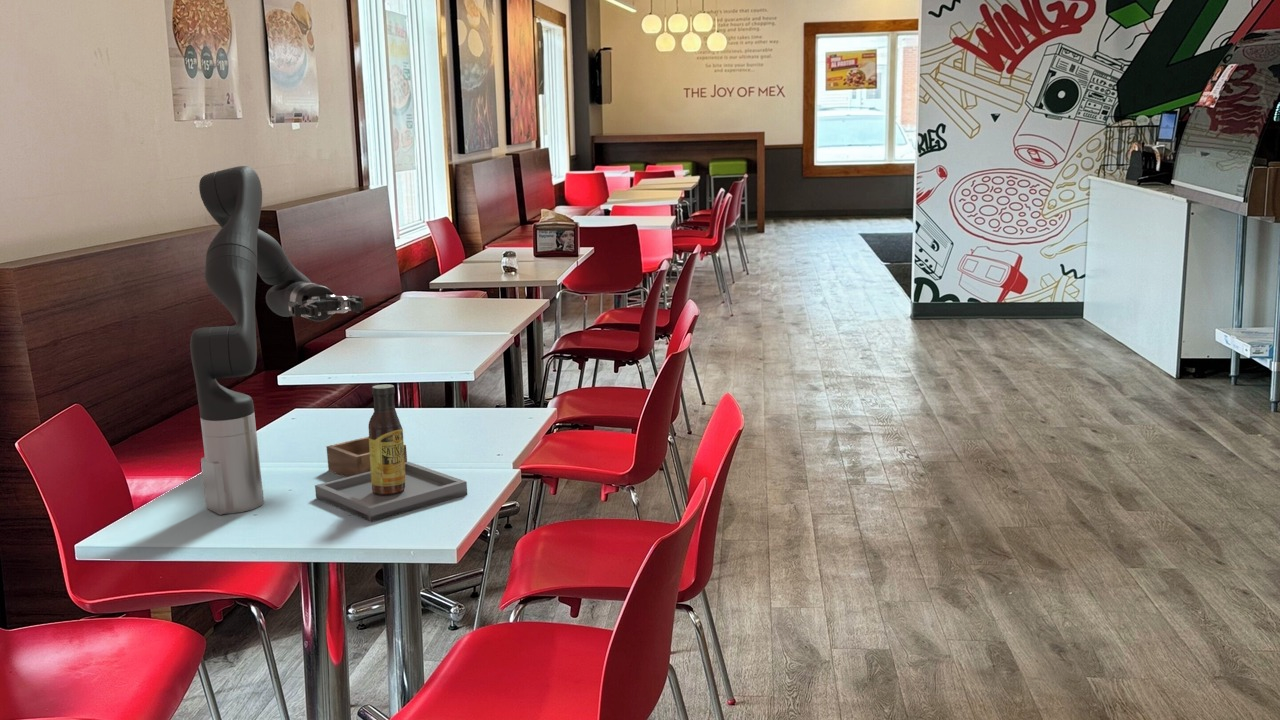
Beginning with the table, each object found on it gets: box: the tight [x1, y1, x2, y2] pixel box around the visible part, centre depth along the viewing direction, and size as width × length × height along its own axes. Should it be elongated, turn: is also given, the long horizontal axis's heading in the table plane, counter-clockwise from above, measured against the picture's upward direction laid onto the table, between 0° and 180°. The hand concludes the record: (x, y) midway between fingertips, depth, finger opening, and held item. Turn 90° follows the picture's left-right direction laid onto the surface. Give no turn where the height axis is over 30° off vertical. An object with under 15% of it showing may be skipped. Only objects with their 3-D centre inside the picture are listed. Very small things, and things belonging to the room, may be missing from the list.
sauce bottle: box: [368, 383, 406, 495], centre depth 208 cm, size 7×6×20 cm
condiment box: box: [325, 436, 408, 478], centre depth 227 cm, size 11×12×5 cm
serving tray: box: [314, 461, 468, 523], centre depth 210 cm, size 20×20×2 cm
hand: (337, 309), depth 226 cm, fingers open, 8 cm apart
